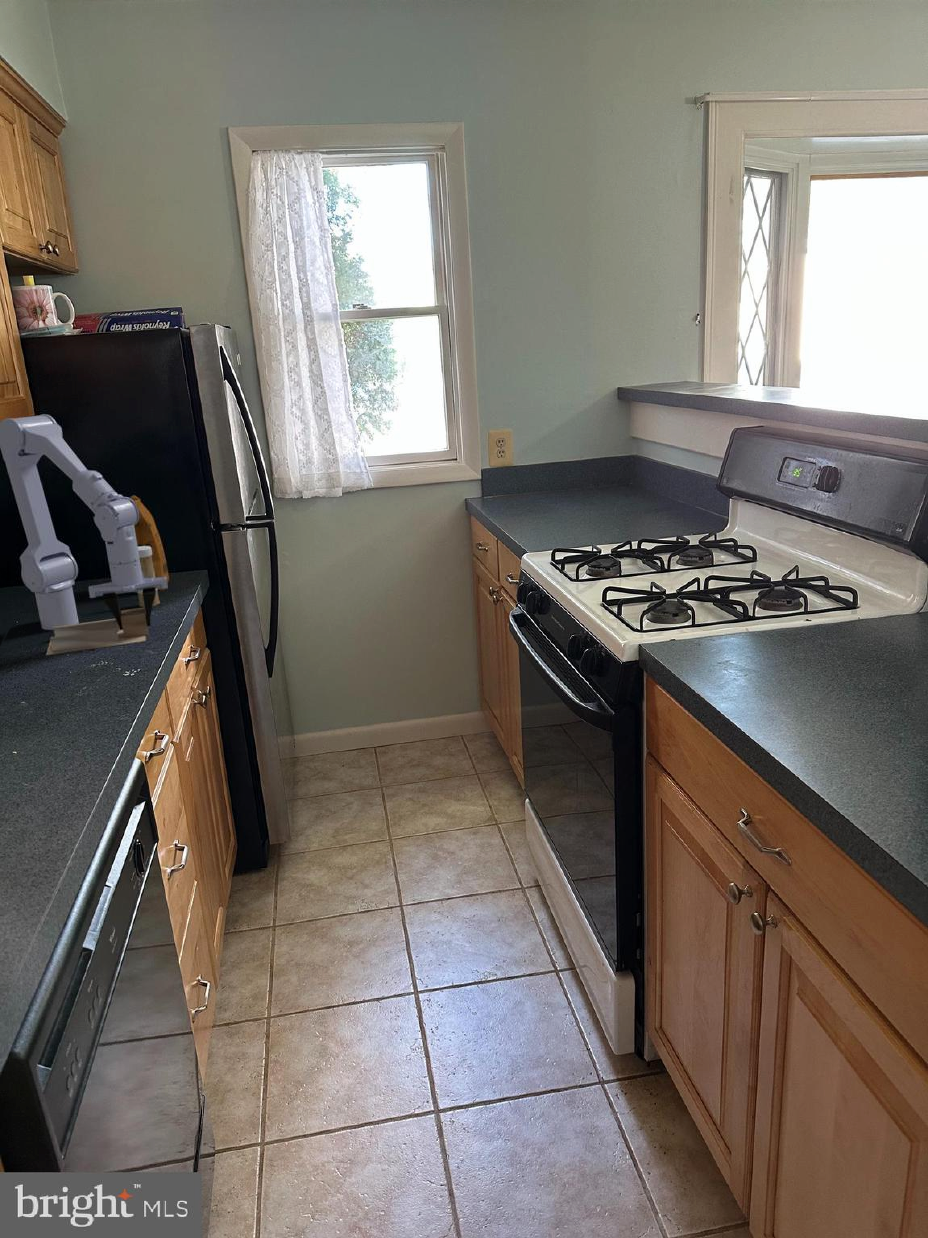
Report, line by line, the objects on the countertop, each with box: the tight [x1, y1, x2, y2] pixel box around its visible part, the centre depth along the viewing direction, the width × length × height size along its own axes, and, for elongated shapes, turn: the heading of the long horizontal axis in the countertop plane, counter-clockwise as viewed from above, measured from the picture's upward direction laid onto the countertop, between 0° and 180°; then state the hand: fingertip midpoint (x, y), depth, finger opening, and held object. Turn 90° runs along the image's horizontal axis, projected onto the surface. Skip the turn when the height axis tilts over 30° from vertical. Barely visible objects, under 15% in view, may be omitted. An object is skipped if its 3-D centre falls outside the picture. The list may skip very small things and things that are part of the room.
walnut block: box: [120, 607, 149, 638], centre depth 178 cm, size 4×4×4 cm
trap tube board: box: [45, 618, 147, 656], centre depth 176 cm, size 12×18×4 cm, turn 110°
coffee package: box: [129, 495, 170, 594], centre depth 215 cm, size 10×12×22 cm
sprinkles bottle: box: [137, 546, 161, 608], centre depth 200 cm, size 5×5×13 cm
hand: (135, 626), depth 178 cm, fingers closed on walnut block, 4 cm apart
